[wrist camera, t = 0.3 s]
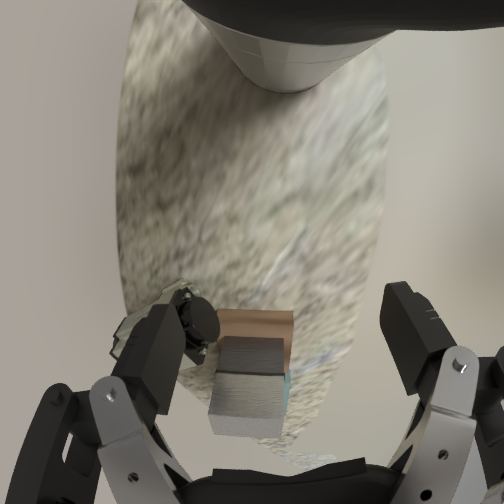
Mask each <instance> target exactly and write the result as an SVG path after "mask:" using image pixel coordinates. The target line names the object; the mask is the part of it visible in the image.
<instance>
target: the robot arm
mask: <svg viewBox="0 0 504 504" xmlns="http://www.w3.org/2000/svg"><path fill="white" fill-rule="evenodd" d="M182 1H183V2H184V3H185V4H186V5H187V6H188V7H189V9H190V10H191V11H192V12H193V13H194V14H195V15H196V16H197V18H198V19H199V20H200V21H201V22H202V23H203V24H204V26H205V27H206V28H207V29H208V30H209V31H210V32H211V34H212V35H213V36H214V37H215V38H216V40H217V41H218V42H219V43H220V45H221V46H222V47H223V48H224V50H225V51H226V52H227V54H228V55H229V56H230V57H231V59H232V60H233V62H234V63H235V64H236V65H237V67H238V68H239V69H240V71H241V72H242V73H243V74H244V75H245V76H246V77H247V78H248V79H249V80H250V81H252V82H253V83H254V84H256V85H258V86H260V87H262V88H264V89H268V90H271V91H274V92H283V93H289V92H298V91H302V90H306V89H308V88H310V87H312V86H315V85H316V84H318V83H319V82H320V81H322V80H323V79H325V78H326V77H328V76H329V75H330V74H332V73H333V72H334V71H336V70H337V69H339V68H340V67H341V66H343V65H344V64H346V63H347V62H349V61H350V60H351V59H353V58H354V57H356V56H357V55H359V54H360V53H362V52H363V51H365V50H366V49H368V48H369V47H371V46H372V45H374V44H375V43H377V42H378V41H380V40H381V39H383V38H384V37H386V36H388V35H389V34H391V33H393V32H394V31H396V30H425V31H426V30H427V31H463V30H477V29H486V28H496V27H504V0H182ZM380 327H381V330H382V333H383V335H384V337H385V340H386V342H387V344H388V347H389V349H390V351H391V354H392V356H393V359H394V361H395V364H396V366H397V369H398V371H399V374H400V376H401V379H402V381H403V384H404V387H405V390H406V392H407V395H408V396H409V395H413V394H416V393H418V394H419V397H420V399H419V401H418V404H417V406H416V409H415V412H414V414H413V416H412V419H411V421H410V424H409V426H408V428H407V431H406V433H405V435H404V438H403V440H402V442H401V444H400V446H399V448H398V449H397V451H396V452H395V454H394V456H393V457H392V459H391V461H390V462H389V464H388V466H387V467H384V466H379V465H372V464H366V462H365V458H364V457H363V458H359V459H353V460H348V461H343V462H337V463H331V464H327V465H324V466H321V467H319V468H316V469H313V470H310V471H307V472H304V473H301V474H298V475H295V476H289V477H287V476H279V475H273V474H268V473H263V472H258V471H253V470H234V469H233V470H232V469H213V474H212V476H208V477H204V478H200V479H197V480H195V481H192V479H191V478H190V476H189V475H188V474H187V472H186V471H185V470H184V469H183V468H182V466H181V465H180V464H179V463H178V461H177V460H176V458H175V456H174V455H173V453H172V451H171V450H170V448H169V446H168V444H167V443H166V441H165V439H164V437H163V435H162V434H161V432H160V430H159V428H158V426H157V424H156V423H155V418H156V415H157V414H160V415H167V414H168V410H169V406H170V403H171V398H172V395H173V391H174V387H175V383H176V380H177V376H178V372H179V368H180V365H181V361H182V357H183V354H184V350H185V346H186V337H185V332H184V330H183V327H182V324H181V322H180V319H179V316H178V314H177V311H176V308H175V306H174V305H173V304H172V303H170V304H154V305H153V306H152V307H151V309H150V311H149V313H148V316H147V317H143V318H142V319H141V320H140V321H138V322H137V323H136V324H135V325H134V327H133V329H132V331H131V333H130V335H129V338H128V339H127V341H126V343H125V346H124V347H123V350H122V352H121V354H120V356H119V358H118V360H117V363H116V365H115V367H114V369H113V371H112V374H111V375H110V376H107V377H104V378H101V379H99V380H98V381H97V382H96V383H95V384H94V385H93V386H92V388H91V390H87V391H80V392H72V390H71V389H70V388H69V387H68V386H67V385H66V384H63V383H57V384H54V385H52V386H51V387H49V388H48V389H47V390H46V392H45V393H44V395H43V397H42V399H41V401H40V404H39V406H38V408H37V411H36V413H35V415H34V418H33V420H32V422H31V425H30V427H29V429H28V432H27V435H26V437H25V440H24V443H23V445H22V448H21V451H20V453H19V456H18V459H17V462H16V465H15V469H14V472H13V475H12V478H11V482H10V486H9V489H8V493H7V497H6V502H5V504H94V499H95V494H96V490H97V485H98V480H99V476H100V471H101V467H102V468H103V470H104V473H105V476H106V478H107V481H108V483H109V486H110V488H111V491H112V493H113V495H114V498H115V500H116V502H117V504H450V503H451V501H452V499H453V497H454V494H455V492H456V489H457V487H458V484H459V482H460V479H461V476H462V473H463V470H464V468H465V464H466V461H467V458H468V455H469V452H470V448H471V444H472V441H473V437H474V436H475V440H476V443H477V446H478V450H479V454H480V458H481V461H482V465H483V469H484V474H485V479H486V484H487V488H488V491H487V493H486V494H485V497H484V500H483V501H482V502H481V503H480V504H504V411H503V408H502V406H501V403H500V402H501V401H502V400H503V399H504V346H503V347H501V348H500V349H499V351H498V353H497V354H496V356H495V357H477V356H476V354H475V353H474V352H473V351H472V350H471V349H469V348H467V347H464V346H458V345H457V344H456V342H455V340H454V339H453V337H452V336H451V334H450V332H449V331H448V329H447V328H446V326H445V324H444V323H443V321H442V320H441V318H439V315H438V314H437V312H436V311H434V308H433V306H432V305H431V303H430V302H429V300H428V299H427V298H425V297H424V296H423V295H421V294H420V293H418V292H416V293H414V292H413V291H412V289H411V288H410V286H409V285H408V284H407V282H406V281H401V282H395V283H388V284H386V286H385V289H384V295H383V301H382V306H381V311H380ZM69 433H71V434H72V435H73V438H72V441H71V444H70V447H69V450H68V454H67V457H66V461H65V463H64V462H63V459H62V452H63V449H64V446H65V443H66V440H67V437H68V434H69Z"/></svg>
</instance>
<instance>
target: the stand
mask: <svg viewBox="0 0 504 504" xmlns="http://www.w3.org/2000/svg"><path fill="white" fill-rule="evenodd" d="M217 316H218V319H219V322H220V335H219V338H218V339H217V343H218V350H219V356H220V354H221V350H222V345H223V341H224V336H240V337H264V338H284V373H288V371H289V363H290V355H291V346H292V337H293V327H294V321H293V311H262V310H235V309H218V312H217Z"/></svg>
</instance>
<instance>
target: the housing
mask: <svg viewBox="0 0 504 504" xmlns="http://www.w3.org/2000/svg"><path fill="white" fill-rule="evenodd" d="M284 381H285V373H284V338H264V337H240V336H224V341H223V345H222V350H221V354H220V359H219V364H218V368H217V370H216V378H215V382H214V387H213V392H212V396H211V401H210V406H209V411H208V417H209V420H210V423H211V426H212V429H213V432H214V434H217V435H228V436H239V437H253V438H281V433H282V427H283V421H284Z"/></svg>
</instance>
